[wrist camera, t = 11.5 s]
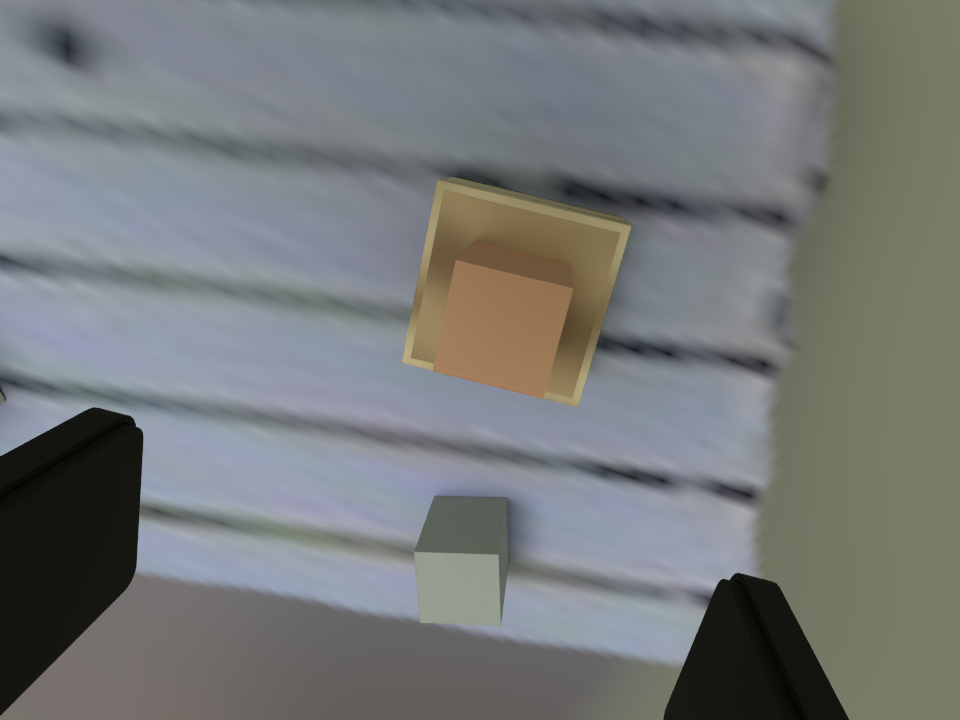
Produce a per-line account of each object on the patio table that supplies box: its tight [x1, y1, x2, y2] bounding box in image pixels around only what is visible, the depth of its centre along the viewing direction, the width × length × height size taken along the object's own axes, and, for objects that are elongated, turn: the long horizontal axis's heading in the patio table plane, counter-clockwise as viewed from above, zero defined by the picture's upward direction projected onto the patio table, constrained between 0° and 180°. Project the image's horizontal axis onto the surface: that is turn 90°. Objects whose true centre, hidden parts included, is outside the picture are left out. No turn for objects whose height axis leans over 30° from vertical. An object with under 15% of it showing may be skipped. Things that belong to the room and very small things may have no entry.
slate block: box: [414, 496, 509, 626], centre depth 37 cm, size 4×4×6 cm
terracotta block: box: [433, 241, 574, 399], centre depth 27 cm, size 4×4×6 cm
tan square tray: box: [402, 177, 632, 407], centre depth 32 cm, size 9×9×5 cm
